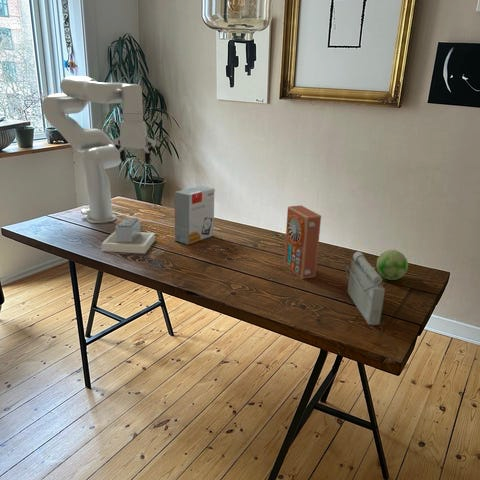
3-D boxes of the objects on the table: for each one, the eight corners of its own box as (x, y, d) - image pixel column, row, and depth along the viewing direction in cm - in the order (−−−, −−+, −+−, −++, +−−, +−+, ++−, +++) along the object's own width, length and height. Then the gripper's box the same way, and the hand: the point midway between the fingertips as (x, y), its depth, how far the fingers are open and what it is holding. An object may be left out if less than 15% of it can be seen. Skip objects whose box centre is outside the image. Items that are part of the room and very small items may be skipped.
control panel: (301, 281, 148) (280, 263, 160) (320, 278, 150) (297, 261, 163) (307, 218, 140) (283, 205, 153) (326, 216, 143) (301, 203, 156)
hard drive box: (188, 245, 175) (187, 195, 168) (174, 241, 179) (172, 191, 172) (214, 235, 186) (214, 188, 179) (200, 231, 191) (200, 184, 184)
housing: (125, 233, 177) (124, 217, 175) (140, 234, 176) (139, 218, 174) (116, 242, 168) (115, 225, 165) (132, 243, 167) (131, 226, 165)
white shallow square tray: (102, 251, 167) (101, 243, 166) (115, 238, 180) (114, 230, 179) (144, 253, 166) (144, 245, 165) (154, 240, 179) (154, 233, 178)
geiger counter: (391, 278, 118) (360, 244, 142) (367, 278, 118) (340, 244, 141) (383, 325, 123) (354, 284, 147) (360, 325, 123) (335, 284, 146)
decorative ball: (371, 280, 150) (375, 252, 146) (379, 270, 158) (383, 243, 154) (401, 288, 145) (406, 259, 142) (408, 277, 153) (413, 249, 149)
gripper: (107, 117, 172) (111, 162, 178) (152, 119, 171) (154, 164, 177) (114, 116, 179) (117, 159, 185) (157, 117, 178) (159, 161, 184)
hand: (135, 162), depth 181 cm, fingers open, 9 cm apart
